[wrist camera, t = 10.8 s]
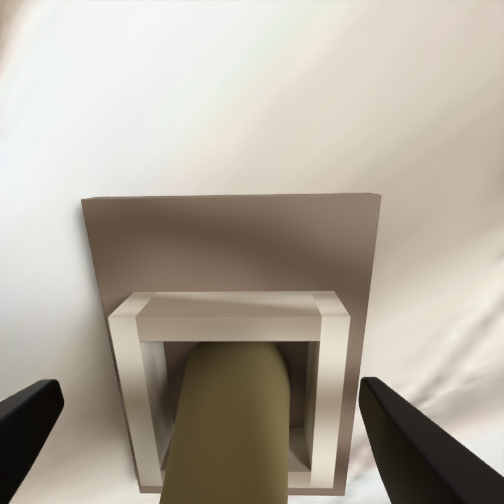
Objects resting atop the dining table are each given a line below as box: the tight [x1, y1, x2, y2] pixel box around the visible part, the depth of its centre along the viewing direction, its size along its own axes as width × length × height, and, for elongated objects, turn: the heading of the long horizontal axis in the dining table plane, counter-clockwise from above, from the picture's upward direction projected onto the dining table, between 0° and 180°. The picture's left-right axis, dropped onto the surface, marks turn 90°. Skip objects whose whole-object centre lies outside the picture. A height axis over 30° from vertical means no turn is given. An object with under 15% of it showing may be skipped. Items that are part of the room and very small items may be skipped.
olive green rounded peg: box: [159, 341, 290, 504], centre depth 10 cm, size 6×6×11 cm
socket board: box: [81, 193, 381, 496], centre depth 15 cm, size 20×14×4 cm
